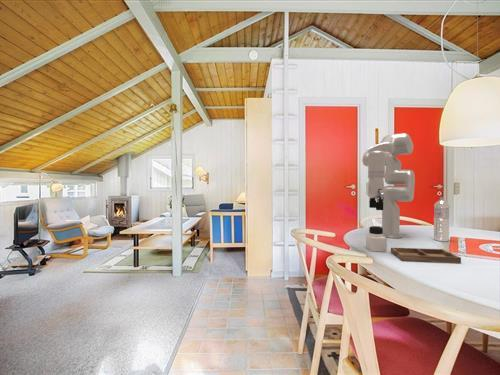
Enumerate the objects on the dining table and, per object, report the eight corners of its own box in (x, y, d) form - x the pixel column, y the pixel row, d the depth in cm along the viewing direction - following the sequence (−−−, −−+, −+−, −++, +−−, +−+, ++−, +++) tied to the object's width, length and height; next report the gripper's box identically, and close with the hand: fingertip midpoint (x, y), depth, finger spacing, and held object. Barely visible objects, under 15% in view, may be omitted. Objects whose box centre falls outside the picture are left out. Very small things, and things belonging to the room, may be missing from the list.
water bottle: (451, 242, 132) (452, 198, 131) (437, 241, 133) (438, 198, 132) (444, 239, 139) (445, 197, 138) (431, 238, 140) (431, 197, 139)
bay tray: (390, 252, 116) (390, 247, 116) (442, 254, 112) (443, 249, 112) (402, 261, 104) (402, 255, 104) (460, 263, 100) (461, 257, 100)
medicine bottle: (386, 251, 117) (386, 228, 116) (372, 251, 117) (372, 228, 117) (379, 247, 124) (379, 225, 124) (365, 247, 124) (365, 225, 124)
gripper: (363, 175, 128) (363, 206, 129) (374, 175, 111) (374, 211, 112) (378, 175, 127) (377, 207, 127) (391, 175, 110) (391, 211, 110)
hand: (376, 208), depth 120 cm, fingers open, 9 cm apart
